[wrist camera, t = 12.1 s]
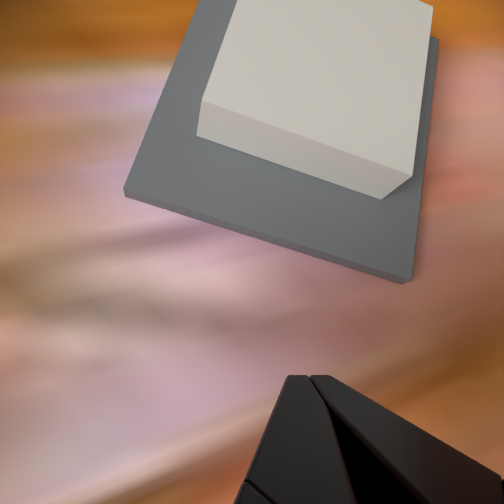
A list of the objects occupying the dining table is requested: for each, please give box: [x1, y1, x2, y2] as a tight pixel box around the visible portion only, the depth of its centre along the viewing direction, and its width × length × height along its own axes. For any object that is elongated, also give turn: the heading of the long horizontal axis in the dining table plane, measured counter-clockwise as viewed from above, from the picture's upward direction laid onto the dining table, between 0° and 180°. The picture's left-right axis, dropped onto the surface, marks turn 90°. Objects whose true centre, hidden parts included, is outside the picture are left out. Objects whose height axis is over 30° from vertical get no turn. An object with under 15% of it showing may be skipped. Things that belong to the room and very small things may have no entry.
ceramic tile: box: [196, 0, 433, 200], centre depth 22 cm, size 3×11×12 cm
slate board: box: [123, 0, 439, 284], centre depth 24 cm, size 18×16×1 cm
